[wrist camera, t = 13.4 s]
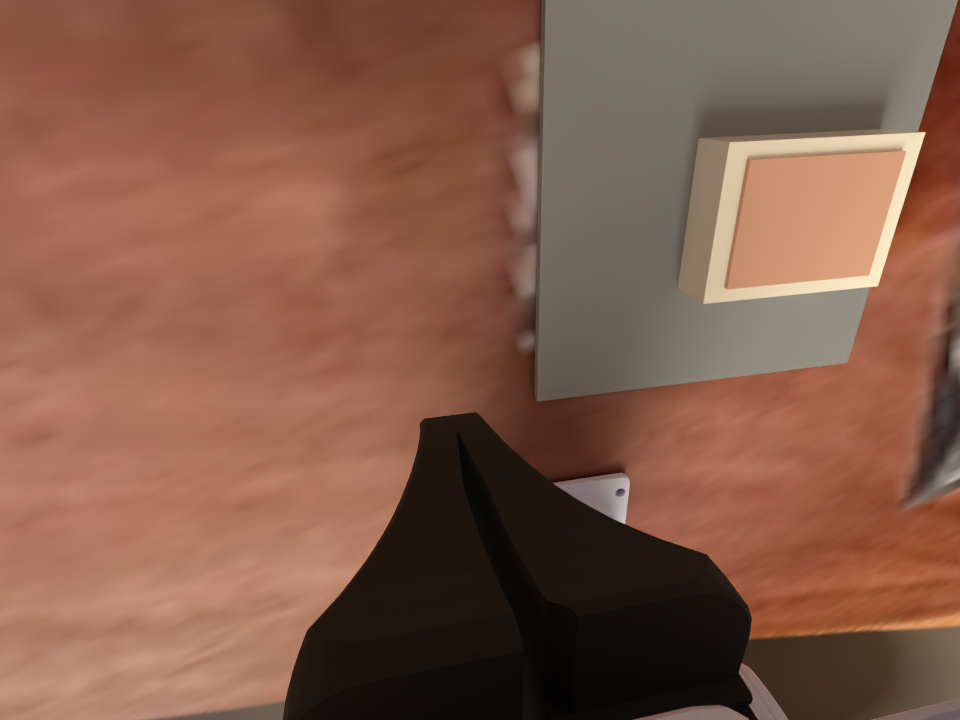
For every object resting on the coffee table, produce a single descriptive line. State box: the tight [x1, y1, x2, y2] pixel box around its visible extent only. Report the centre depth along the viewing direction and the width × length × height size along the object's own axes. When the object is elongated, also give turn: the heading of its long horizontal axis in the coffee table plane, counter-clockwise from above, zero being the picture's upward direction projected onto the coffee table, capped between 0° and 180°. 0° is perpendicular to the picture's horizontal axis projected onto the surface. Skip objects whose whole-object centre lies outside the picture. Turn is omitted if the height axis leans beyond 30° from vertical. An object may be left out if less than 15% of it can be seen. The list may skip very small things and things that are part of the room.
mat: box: [534, 0, 958, 402], centre depth 23 cm, size 16×16×1 cm
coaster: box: [678, 129, 925, 304], centre depth 22 cm, size 6×2×8 cm
